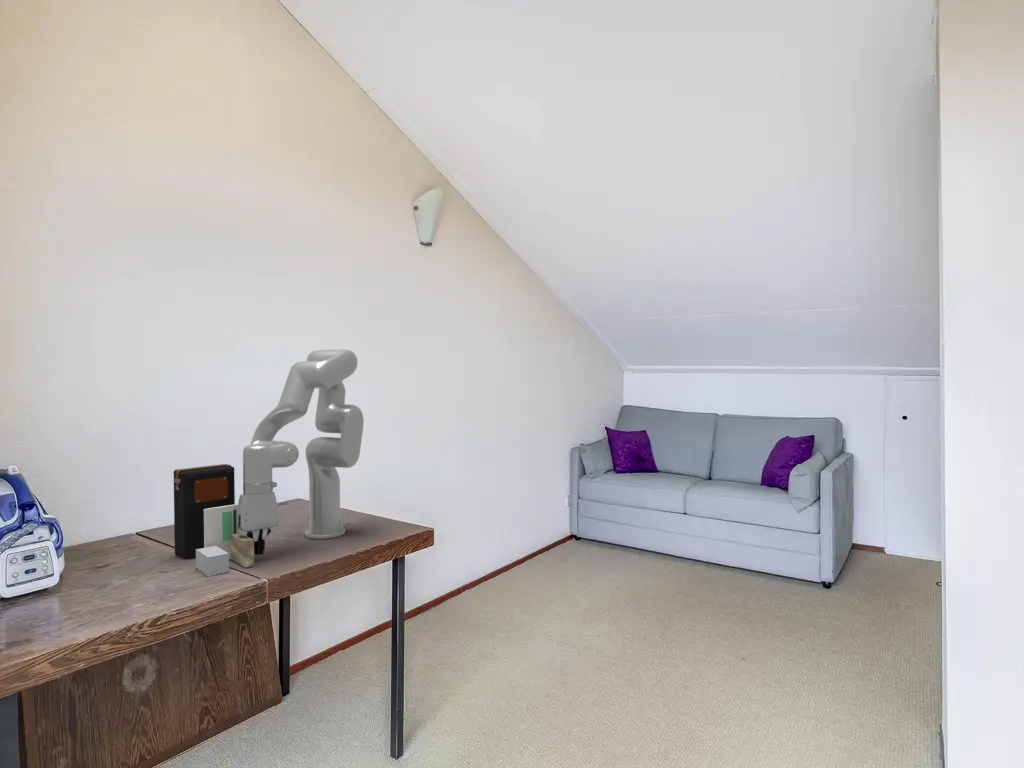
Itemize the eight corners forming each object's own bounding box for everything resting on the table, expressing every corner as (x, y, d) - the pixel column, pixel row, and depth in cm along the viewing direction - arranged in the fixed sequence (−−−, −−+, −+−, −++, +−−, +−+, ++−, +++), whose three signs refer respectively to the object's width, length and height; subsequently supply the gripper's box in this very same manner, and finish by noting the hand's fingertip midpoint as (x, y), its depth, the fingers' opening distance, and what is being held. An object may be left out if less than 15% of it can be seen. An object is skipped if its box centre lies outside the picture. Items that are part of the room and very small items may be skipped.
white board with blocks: (262, 551, 178) (261, 500, 177) (281, 560, 169) (280, 507, 168) (192, 565, 164) (191, 510, 164) (208, 576, 155) (207, 518, 155)
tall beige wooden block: (239, 556, 171) (238, 508, 171) (254, 565, 163) (253, 515, 163) (230, 558, 169) (229, 510, 169) (245, 567, 162) (244, 516, 161)
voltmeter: (225, 543, 186) (224, 462, 186) (239, 548, 181) (238, 465, 180) (171, 555, 174) (170, 469, 174) (184, 561, 168) (183, 471, 168)
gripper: (278, 483, 177) (278, 546, 177) (225, 490, 166) (225, 556, 166) (289, 486, 171) (290, 551, 172) (235, 494, 161) (235, 562, 161)
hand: (258, 553), depth 169 cm, fingers closed
